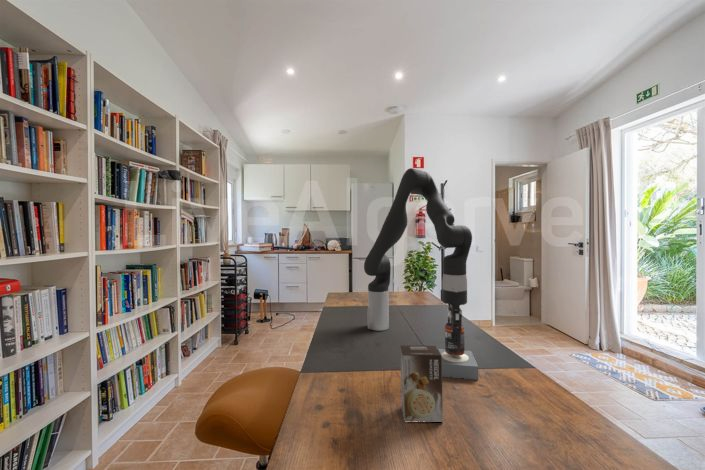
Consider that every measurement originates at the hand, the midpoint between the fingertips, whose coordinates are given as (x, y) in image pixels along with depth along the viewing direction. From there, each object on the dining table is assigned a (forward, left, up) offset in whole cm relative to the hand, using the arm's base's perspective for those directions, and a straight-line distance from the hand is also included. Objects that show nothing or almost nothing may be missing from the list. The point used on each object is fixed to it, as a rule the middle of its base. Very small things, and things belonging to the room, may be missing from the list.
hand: (454, 340), depth 99 cm
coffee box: (-11, -27, -10) cm, 31 cm away
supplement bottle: (0, 0, -4) cm, 4 cm away
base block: (0, 0, -9) cm, 9 cm away
